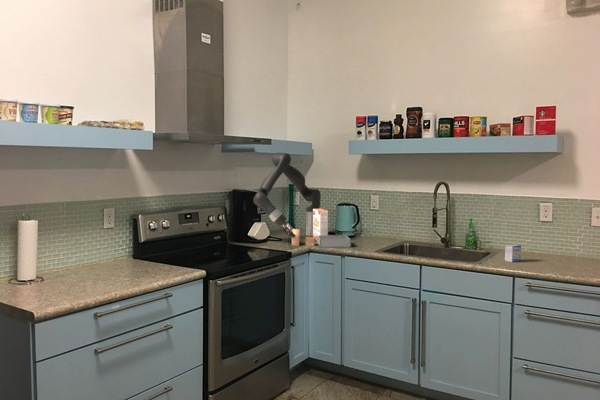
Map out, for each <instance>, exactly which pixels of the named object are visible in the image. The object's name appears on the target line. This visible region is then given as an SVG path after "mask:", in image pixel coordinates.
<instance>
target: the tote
mask: <svg viewBox="0 0 600 400" xmlns="http://www.w3.org/2000/svg"><path fill="white" fill-rule="evenodd" d="M316 243H317V246H318V247H319V248H320V249H324V248H325V249H328V248H329V249H330V248H332V249H334V248H336V249H337V248H338V249H339V248H343V249H345V248H352V239H351V238H350V237H349V236H348V235H344V234H343V235H329V234H328V235H324V236H317V240H316Z"/></svg>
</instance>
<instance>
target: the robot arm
mask: <svg viewBox="0 0 600 400" xmlns="http://www.w3.org/2000/svg"><path fill="white" fill-rule="evenodd" d="M271 160H272V163H273V165H274V166H275V168H274V169H273V170H272V172H270V173H268V175H267V176H266V177H265V178H264V179H263V181H262V183H261V185H260V187H259V189H258V191H257V192H256V193H255V195H254V196H253V200H252V201H253V204H254V205H256V206H261V208H262V209H263V212H264V213H265V214H266V216H268V217H269V219H270V220H271V221H272V222H273V223H274V224H275V225H276V226H277V227H278V228H279V227H280V226H281V228H282V229H283V230H284V231H285V232H286V234H288V235H290V236H291V238H292V237H293V238H294V237H295V236H296V235H295V234H294V233H293V232H292V229H294V227H293V226H292V225H291V224H290V223H289V221H286V220H287V219H288V218H287V217H286V216H285V215H284V214H283V213H282V212H281V211H280V210H279V209H278V208H277V207H276V206H275V205H274V204H273V203H272V202H271V200H270V199H269V198H268V195H269V194H270V192H271V191H272V190H273V188H274V186H275V184H276V183H277V181H278V179H279V178H280V177H281V175H282V174H284V176H286V178H287V179H288V180H289V181H290V182H291V184H292V185H293V186H294V187H295V188H296V189H297V191H299V193H300V195H301V196H302V197H303V198H304V200H305V201H306V202H308V203H311V205H309V206H307V207H306V209H305V212H306V213H305V221H306V222H305V223H306V224H305V235H306V237H313V209H321V199H322V198H321V197H322V196H321V191H320V190H319V189H318V188H310V187H308V186H307V185H306V178H305V176H304V175H303V173H302V172H301V171H300V170H299V169H298V168H296V167H294V166H292V165H291V162H292V158H291V155H290V154H289V153H287V152H275V153H273V155H272V158H271Z"/></svg>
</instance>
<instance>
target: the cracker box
mask: <svg viewBox="0 0 600 400" xmlns="http://www.w3.org/2000/svg"><path fill="white" fill-rule="evenodd" d="M324 235H329V211H328V210H327V209H323V208H319V209H313V236H312V237H314V241H317V236H324Z"/></svg>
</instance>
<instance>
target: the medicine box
mask: <svg viewBox="0 0 600 400" xmlns="http://www.w3.org/2000/svg"><path fill="white" fill-rule="evenodd" d="M504 249H505V251H504V252H505V253H504V261H505V262H508V263H509V262H510V263H516V262H520V261H521V260H522V245H521V244H517V243H516V244H515V243H514V244H507V245H505V248H504Z"/></svg>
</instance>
